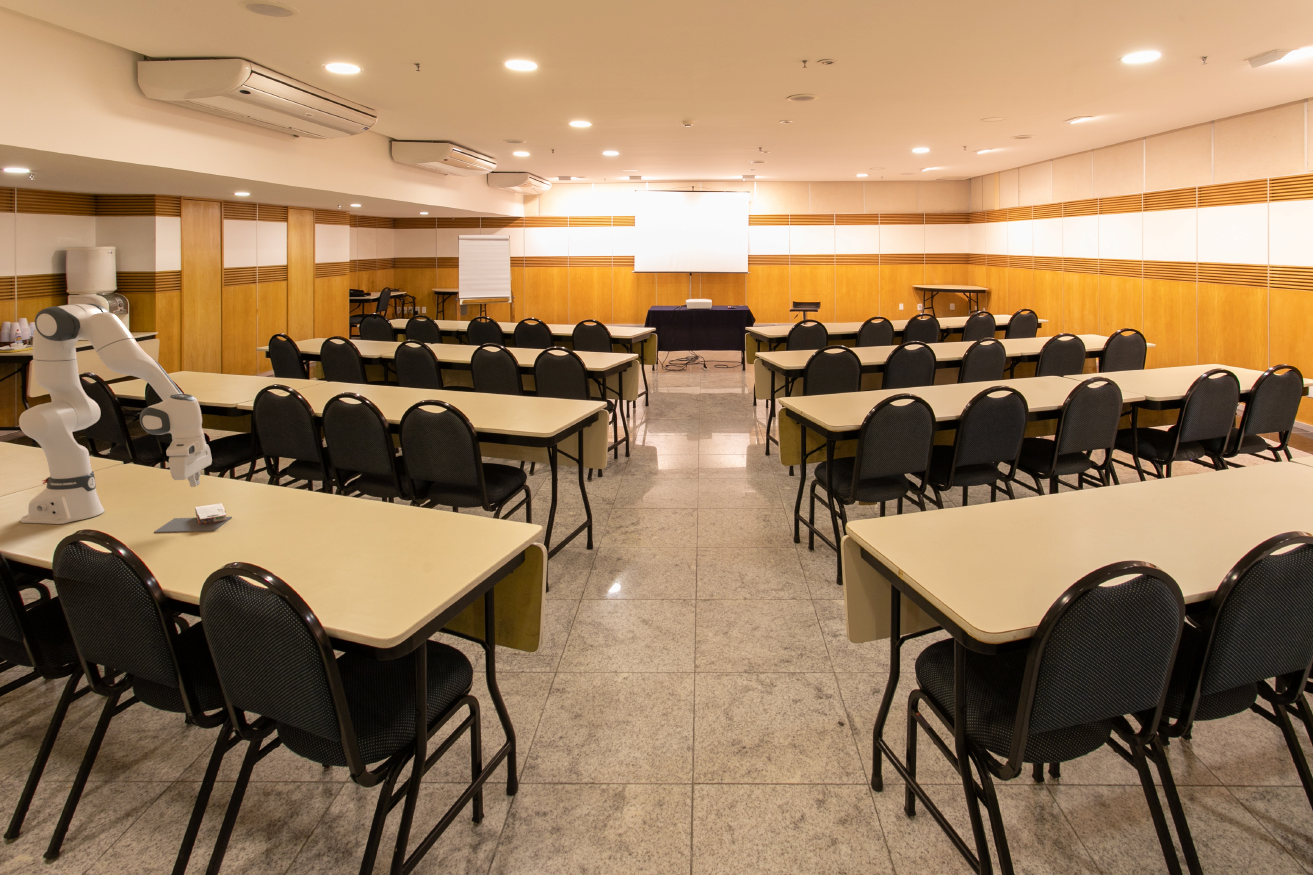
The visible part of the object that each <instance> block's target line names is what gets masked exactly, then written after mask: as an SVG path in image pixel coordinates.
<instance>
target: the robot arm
mask: <svg viewBox="0 0 1313 875" xmlns="http://www.w3.org/2000/svg"><path fill="white" fill-rule="evenodd" d="M34 317H35V318H34V327H35V329H34V332H33V337H32V359H33V369H34V376H35V382H36V384H37V385H38V386H40V387H41V388H42V389H45V390H46V391H47V392H48V393H49V396H50V399H51V402H46V403H41V404H37V405H35V406H32V407H30V408H28V409H26V410H24V411H23V412H22V413H21V414H20V416H19V418H18V425H19V428H20V429H21V431H22V433H23V434H24V435H25V436H27V437H28V438H31V439H33V440H34V441H35V442H37V444H38V445H39V446H40V447H41V449H42V451H43V453H44V455H45V457H46V462H47V467H48V471H49V476H48V477H46V479H43V480H42V485H44V484H46V488H44V489H43V490H42V491H41V492H39V493H38V494H37V495H35V497H33V498H32V499H31V500H30V501H29V503H28V507H27V508H28V510H27V513H26V514H24V515H23V516H22V517H21V518H20V523H22V524H23V523H24V524H48V525H49V524H55V525H64V524H67V523H71V522H75V521H82V520H85V519H90V518H93V517H97V516H99V515H101V514H104V512H105V509H104V507H103V505H102V503H101V501H100V498H99V496H98V493H97V489H96V488H97V486H96V484H97V483H96V477H95V474H94V471H93V469H92V465H91V464H92V463H91V459H90V453H89V450H88V448H86V446H83V445H81V444H79V443H78V442H77V440H76V439H75V438H74V434H73V432H78V431H81V430H86V429H87V428H89V427H91V426H93V425H94V424H96V423H97V422H98V421H99V420H100V418H101V408H100V406H99V404H98V403H97V402H96V401H95V400H94V399H92V398H91V397H90V396H88V395H87V393H86V392H85V389H83V386H82V383H81V380H80V373H79V366H78V356H77V349H76V348H77V347H76V345H77V343H78V342H79V340H88V342H89V343H90V344H91V346H92V347H93V349H94V350H95V352H96V354H97V356H98V357H99V359H100V361H101V362H102V363H103V364H104V366H106V368H108V369H109V370H110V371H112V372H115V373H117V374H120V375H126V376H132V377H135V378H139V379H141V380H143V381H145V382H147V383H148V384H149V386H151V387H152V389H153V390H154V391H155V393H156V394H157V395H158V396H159V398H160V399H161V400H162V401H160V402H159V403H155V404H152V405H149V406H148V407H144V408H143V409H142V410H141V412H140V415H139V423H140V425H141V428H142V429H143V430H144V431H145V432H146V433H147V434H150V435H154V436H155V435H157V436H159V435H165V434H171V439H172V441H171V442H170V445H169V446H168V447H167V449H166V451H165V452H166V456H167V457H169V458H168V467H169V473H170V475H171V478H172V480H174V481H183V480H186V479H187V480H188V482H189V487H190V488H195V487H198V486H199V485H200V484H201V480H200V479H201V471H202V470H203V469H205V468H207V467H209V466H211V465H212V462H213V459H212V453H211V448H210V446H209V444H207V441H206V438H205V437H206V436H205V432H204V430H203V426H202V424H203V416H202V410H201V407H200V406H201V405H200V403H199V400H198V398H196V396H194V395H192V394H187V393H183V392H182V391H181V389H180V388H179V387H178V386H177V385H176V383H175V382H174V380H173V379H172V377H170V375H169V374H168V372H167V371H166V370H165V369H164V368H163V367H162V365H161V364H160V363H159V362H158V361H157V360H155V359H154V358H153V357H152V356H150V355H149V354H148V353H146V351H144V349H143V348H142V347H141V345H139V343H138V342H137V341H136V339H135V337H134V336H133V334H132V333H131V331H130V330H129V329H128V327H127V325H126V324H125V323H124V322H123V321H122V320H121V319H120V318H119V316H117V315H116V314H115V313H113V312H110V311H109V310H108V309H107V308H106V307H104V306H102V305H100V304H95V303H83V304H82V303H70V304H69V303H68V304H65V305H59V306H56V305H55V306H48V307H45V308H43V309H41V310H39V311H38V312H37V313H36V315H35V316H34Z"/></svg>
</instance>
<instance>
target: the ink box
mask: <svg viewBox="0 0 1313 875" xmlns="http://www.w3.org/2000/svg"><path fill="white" fill-rule="evenodd" d="M194 510H195V516H196V517H195V518H197V520H198V523H199V524H206V523H212V522H218V521H224V520H226V517H227V513H226V510H225V507H224V506H223V503H222V502H220V503H214V504H206V505H205V504H204V505H201V506H199V505H198V506H194Z"/></svg>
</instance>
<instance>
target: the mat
mask: <svg viewBox="0 0 1313 875" xmlns="http://www.w3.org/2000/svg"><path fill="white" fill-rule="evenodd" d="M232 518H233V516H226V520H224V521H218V522H212V523H206V524H199V523H198V520H197V517H174V518H172V519H171V520H169V521H168V522H166V523H165V524H163V525H162V526H160V527H159V528H157V529H156V530H154V531H153V534H161V533H162V534H165V533H168V534H170V533H193V532H195V533H197V532H199V533H200V532H203V533H204V532H216V531H217V529H219V528H220V527H222V526H223V525H224V524H226V523H227V522H228V521H230V520H231V519H232Z"/></svg>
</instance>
